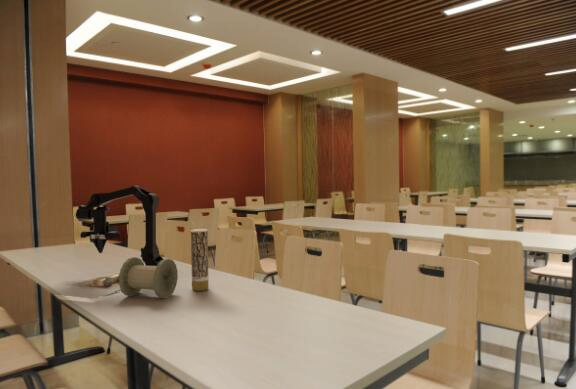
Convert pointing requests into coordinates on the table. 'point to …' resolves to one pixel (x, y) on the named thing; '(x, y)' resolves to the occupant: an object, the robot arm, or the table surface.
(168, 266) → the spool
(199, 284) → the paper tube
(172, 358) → the table surface
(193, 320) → the table surface
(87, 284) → the board
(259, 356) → the table surface
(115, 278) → the maple plate
